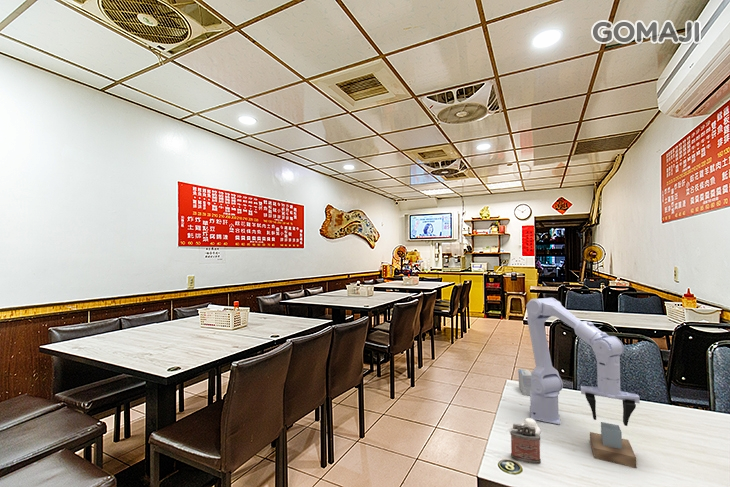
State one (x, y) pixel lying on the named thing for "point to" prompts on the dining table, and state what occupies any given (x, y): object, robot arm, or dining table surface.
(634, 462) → the walnut block
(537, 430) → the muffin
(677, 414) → the dining table surface
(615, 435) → the slate cube
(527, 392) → the medicine box
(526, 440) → the lighter
